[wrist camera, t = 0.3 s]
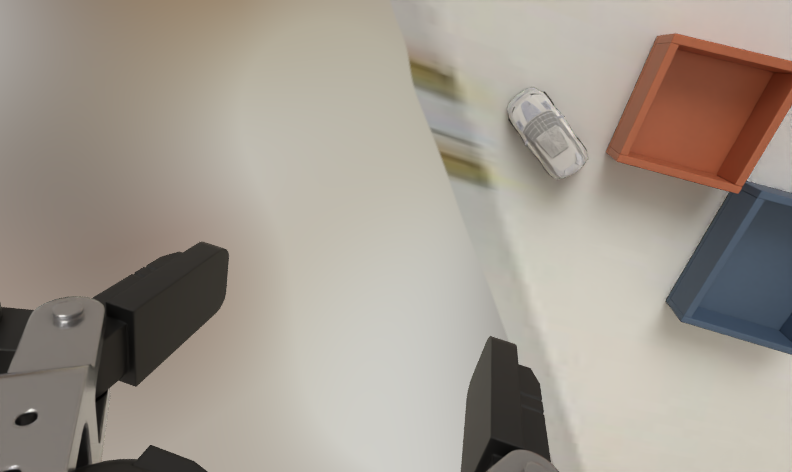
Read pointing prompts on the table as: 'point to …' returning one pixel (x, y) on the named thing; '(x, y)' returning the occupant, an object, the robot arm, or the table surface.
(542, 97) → the toy car
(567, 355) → the table surface
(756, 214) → the blue bin
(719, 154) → the terracotta bin
